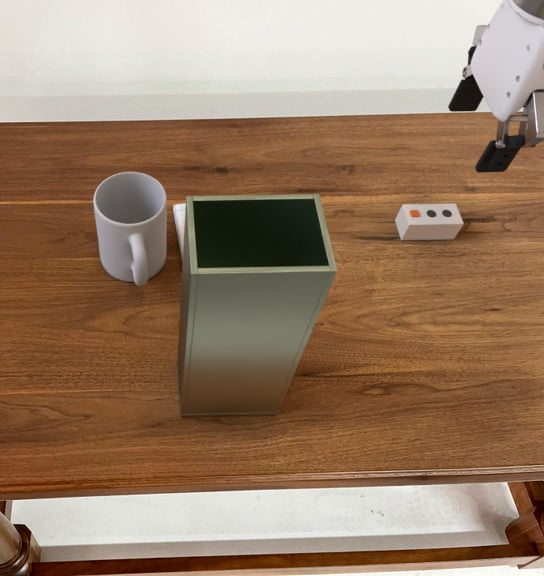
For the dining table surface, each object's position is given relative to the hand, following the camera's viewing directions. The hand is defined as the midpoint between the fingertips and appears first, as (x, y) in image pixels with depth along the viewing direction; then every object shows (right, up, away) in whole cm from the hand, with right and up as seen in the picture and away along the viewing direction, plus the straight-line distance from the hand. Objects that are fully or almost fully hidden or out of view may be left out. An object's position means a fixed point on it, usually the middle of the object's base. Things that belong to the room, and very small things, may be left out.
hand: (474, 138), depth 67 cm
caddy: (-28, -27, 0) cm, 39 cm away
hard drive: (-28, -11, +12) cm, 33 cm away
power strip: (0, -9, +13) cm, 16 cm away
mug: (-38, -14, +10) cm, 42 cm away
